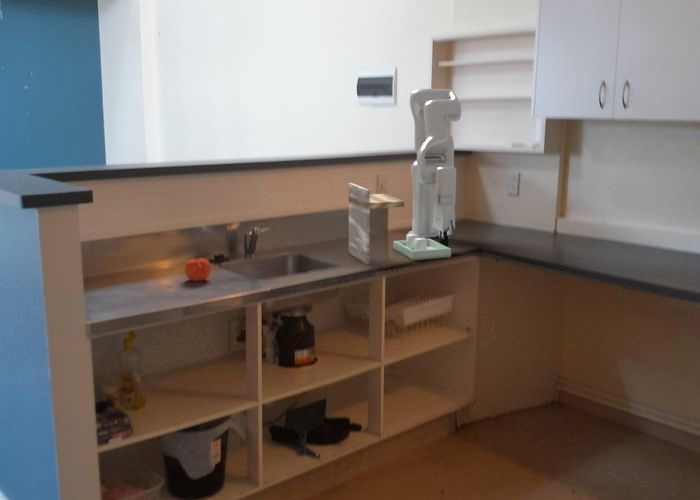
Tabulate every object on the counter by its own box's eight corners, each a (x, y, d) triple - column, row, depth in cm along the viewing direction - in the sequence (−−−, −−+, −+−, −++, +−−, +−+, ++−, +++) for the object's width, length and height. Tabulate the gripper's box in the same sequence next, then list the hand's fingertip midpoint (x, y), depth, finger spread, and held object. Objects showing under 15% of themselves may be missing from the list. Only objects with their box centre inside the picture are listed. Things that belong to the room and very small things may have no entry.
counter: (383, 250, 270) (384, 181, 265) (403, 261, 252) (404, 188, 246) (348, 252, 266) (348, 183, 260) (366, 264, 247) (366, 190, 242)
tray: (429, 246, 275) (429, 238, 275) (450, 257, 258) (451, 248, 257) (393, 249, 271) (393, 241, 270) (412, 260, 253) (412, 251, 252)
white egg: (423, 252, 262) (424, 237, 261) (428, 254, 258) (429, 239, 257) (412, 252, 261) (413, 238, 260) (417, 255, 257) (417, 240, 256)
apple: (213, 281, 224) (212, 257, 223) (187, 284, 221) (186, 259, 220) (208, 276, 232) (206, 252, 230) (183, 278, 228) (181, 254, 227)
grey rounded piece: (415, 247, 270) (415, 233, 269) (419, 250, 266) (420, 235, 265) (404, 248, 269) (404, 234, 267) (409, 250, 264) (409, 236, 263)
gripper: (427, 197, 269) (426, 245, 272) (444, 203, 255) (443, 253, 259) (445, 196, 271) (444, 244, 275) (463, 202, 257) (461, 251, 261)
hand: (443, 248), depth 267 cm, fingers closed
